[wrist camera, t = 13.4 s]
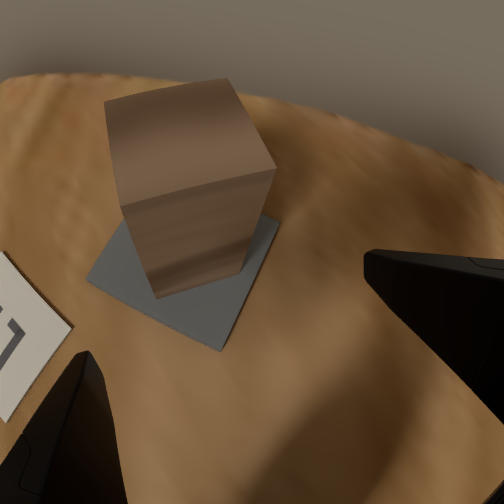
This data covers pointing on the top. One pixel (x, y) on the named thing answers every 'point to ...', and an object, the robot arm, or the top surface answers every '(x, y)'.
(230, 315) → the rubber mat
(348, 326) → the top surface
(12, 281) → the card
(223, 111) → the walnut block
